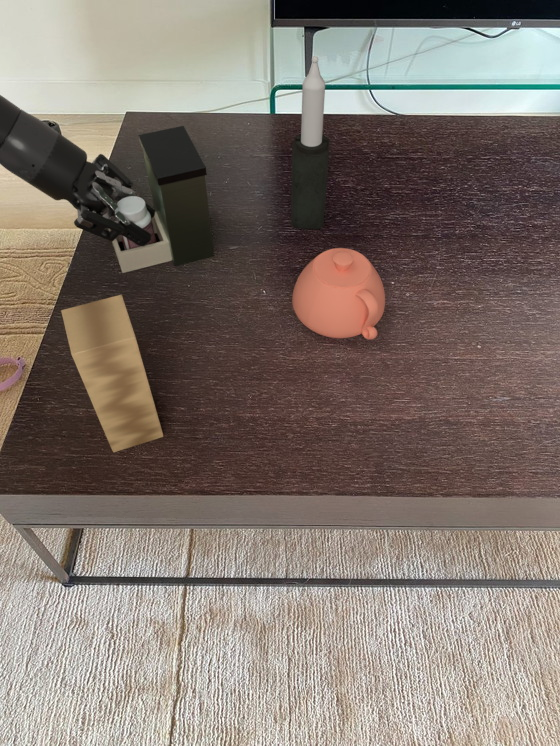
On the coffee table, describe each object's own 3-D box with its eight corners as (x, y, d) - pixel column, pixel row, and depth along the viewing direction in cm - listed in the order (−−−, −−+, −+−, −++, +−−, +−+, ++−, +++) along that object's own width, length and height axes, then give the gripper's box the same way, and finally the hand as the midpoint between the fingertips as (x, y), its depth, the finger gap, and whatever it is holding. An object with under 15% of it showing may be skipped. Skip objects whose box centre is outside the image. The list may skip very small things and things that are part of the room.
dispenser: (173, 267, 90) (157, 178, 78) (155, 224, 96) (138, 134, 84) (215, 256, 92) (206, 167, 79) (195, 214, 97) (183, 125, 85)
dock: (122, 273, 89) (117, 255, 87) (111, 241, 94) (106, 222, 91) (172, 260, 91) (168, 242, 88) (159, 229, 95) (155, 211, 92)
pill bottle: (164, 247, 93) (155, 201, 86) (143, 266, 90) (132, 220, 84) (139, 236, 94) (129, 189, 88) (118, 254, 92) (106, 207, 85)
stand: (113, 452, 71) (71, 354, 57) (102, 412, 75) (60, 310, 60) (163, 436, 73) (135, 336, 58) (151, 397, 76) (121, 294, 62)
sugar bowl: (347, 271, 90) (354, 213, 82) (408, 333, 82) (422, 277, 74) (275, 303, 86) (274, 246, 78) (332, 371, 79) (338, 317, 70)
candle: (293, 206, 99) (296, 45, 79) (325, 209, 98) (336, 47, 78) (290, 227, 95) (292, 65, 76) (323, 230, 95) (334, 67, 75)
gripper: (42, 171, 73) (161, 248, 83) (65, 106, 82) (170, 182, 91) (12, 208, 77) (128, 277, 87) (37, 142, 86) (140, 212, 95)
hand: (149, 228), depth 89 cm, fingers closed on pill bottle, 4 cm apart
